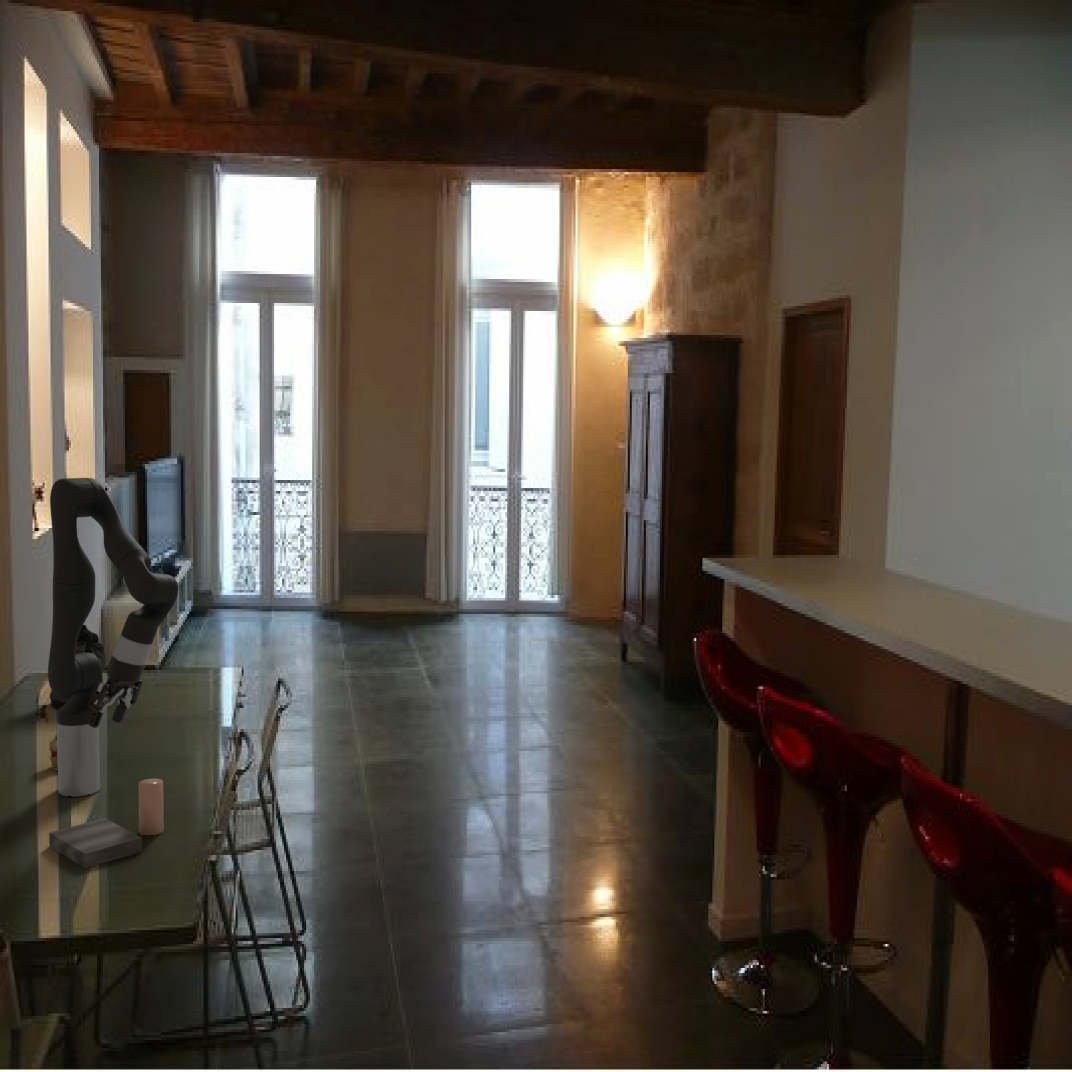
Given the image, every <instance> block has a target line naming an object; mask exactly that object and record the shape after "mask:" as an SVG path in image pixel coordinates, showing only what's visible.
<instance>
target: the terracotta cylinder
mask: <svg viewBox="0 0 1072 1072" xmlns="http://www.w3.org/2000/svg"><path fill="white" fill-rule="evenodd" d="M164 820H165V819H164V781H163V779H160V778H147V779H142V780H140V781H139V782H138V826H139V827H138V830H139V831H138V833H140V834H139V835H140V836H143V835H148V836H147V837H150V836H149V835H153V836H157V835H160V834H162V833H163V832H164V830H165V827H164V824H165V821H164Z"/></svg>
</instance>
